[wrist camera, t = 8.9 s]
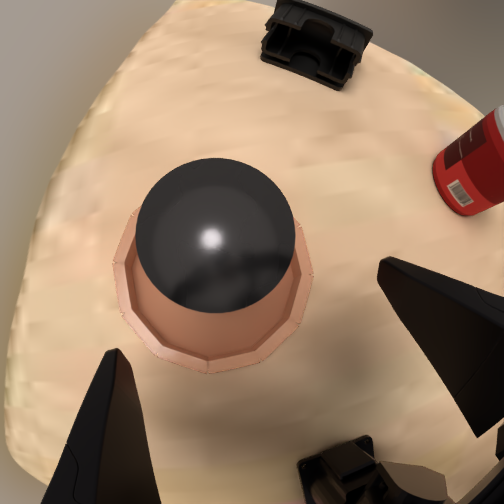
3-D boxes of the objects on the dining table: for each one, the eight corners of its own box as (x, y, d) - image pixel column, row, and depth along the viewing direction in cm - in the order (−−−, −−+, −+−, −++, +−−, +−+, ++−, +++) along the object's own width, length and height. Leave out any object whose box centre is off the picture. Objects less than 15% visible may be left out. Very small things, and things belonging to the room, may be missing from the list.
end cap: (353, 61, 28) (375, 22, 21) (344, 95, 26) (370, 51, 20) (275, 30, 27) (286, -13, 21) (254, 59, 26) (264, 9, 19)
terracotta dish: (316, 340, 21) (329, 342, 18) (145, 377, 18) (137, 385, 16) (276, 179, 23) (283, 164, 20) (116, 208, 21) (106, 196, 18)
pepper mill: (258, 304, 20) (312, 292, 9) (183, 319, 19) (150, 327, 8) (242, 231, 21) (273, 149, 10) (169, 245, 20) (128, 173, 9)
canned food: (481, 223, 26) (552, 192, 15) (435, 209, 25) (516, 165, 14) (470, 165, 27) (529, 124, 17) (425, 145, 26) (488, 91, 16)
